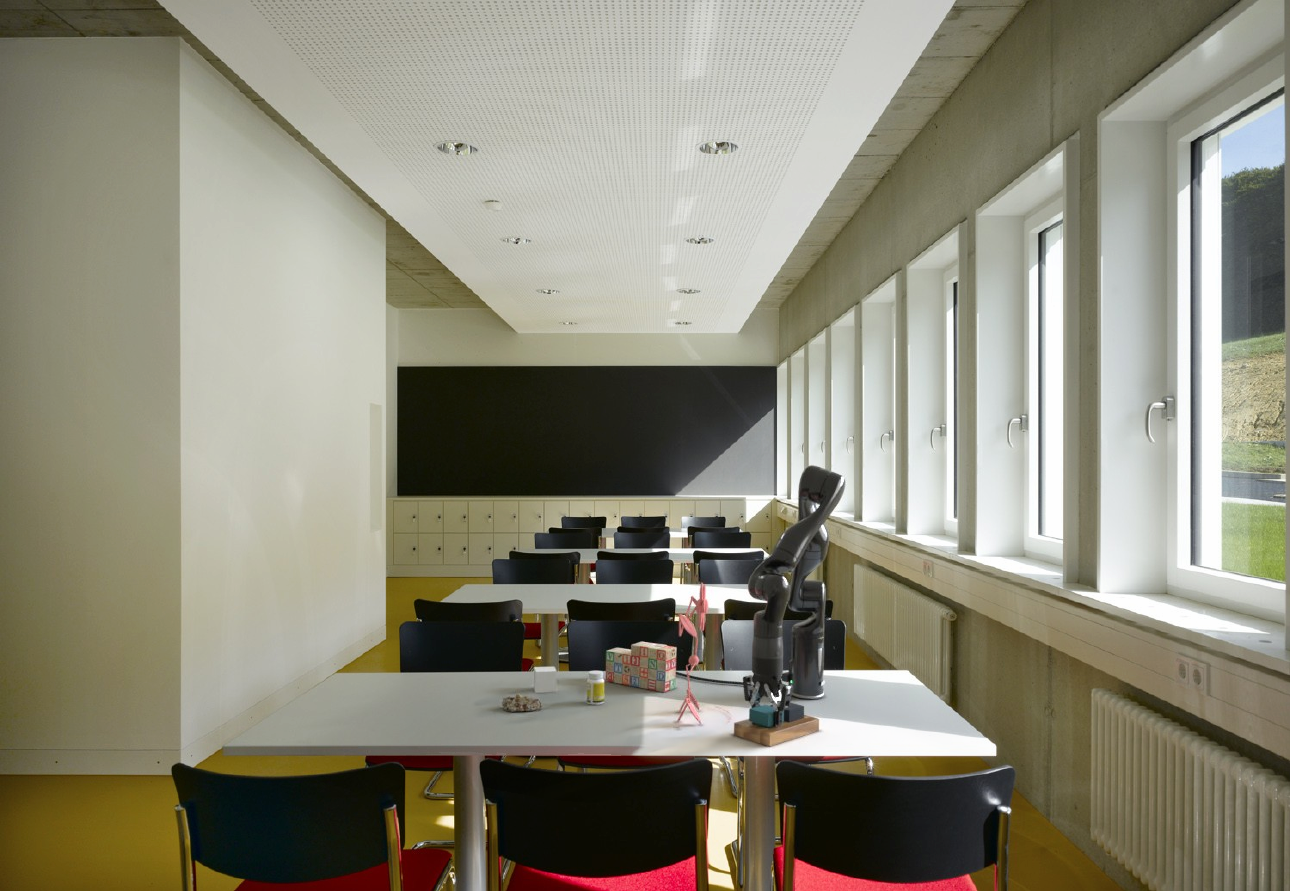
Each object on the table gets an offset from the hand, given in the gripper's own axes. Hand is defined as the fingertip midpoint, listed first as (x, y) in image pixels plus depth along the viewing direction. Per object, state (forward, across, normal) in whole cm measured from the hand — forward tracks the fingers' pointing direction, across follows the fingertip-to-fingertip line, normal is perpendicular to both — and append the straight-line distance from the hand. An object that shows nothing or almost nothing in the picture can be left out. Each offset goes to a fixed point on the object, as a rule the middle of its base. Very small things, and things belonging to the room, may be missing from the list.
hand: (766, 723), depth 211 cm
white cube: (+3, +69, +17) cm, 71 cm away
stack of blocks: (+3, +56, -9) cm, 57 cm away
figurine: (+3, +20, +1) cm, 20 cm away
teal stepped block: (+3, 0, 0) cm, 3 cm away
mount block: (+3, 0, -4) cm, 5 cm away
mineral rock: (+3, +57, +33) cm, 66 cm away
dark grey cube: (+3, 0, -8) cm, 9 cm away
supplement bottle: (+3, +49, +14) cm, 51 cm away
